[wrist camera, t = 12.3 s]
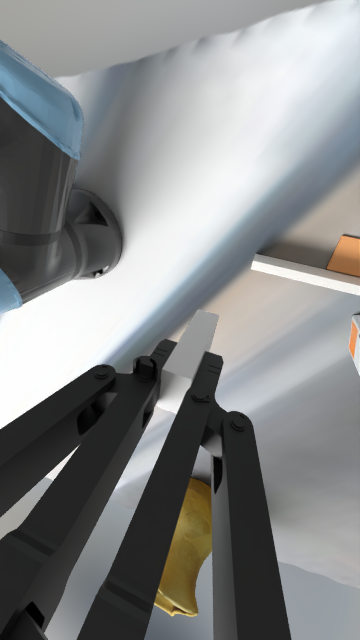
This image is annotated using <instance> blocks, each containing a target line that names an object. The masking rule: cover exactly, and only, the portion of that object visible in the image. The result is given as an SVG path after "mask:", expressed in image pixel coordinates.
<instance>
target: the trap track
mask: <svg viewBox="0 0 360 640" xmlns="http://www.w3.org/2000/svg"><path fill="white" fill-rule="evenodd" d="M251 269H253V270H257V271H261V272H265V273H269V274H273V275H277V276H282V277H286V278H290V279H294V280H298V281H302V282H306V283H310V284H314V285H318V286H323V287H327V288H331V289H335V290H339V291H343V292H347V293H351V294H355V295H360V277H355V276H351V275H347V274H342V273H338V272H333V271H329V270H325V269H320V268H316V267H312V266H307V265H303V264H299V263H294V262H290V261H286V260H281V259H277V258H273V257H268V256H264V255H260V254H255V257H254V260H253V263H252V267H251Z"/></svg>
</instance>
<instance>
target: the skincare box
mask: <svg viewBox="0 0 360 640" xmlns="http://www.w3.org/2000/svg"><path fill="white" fill-rule="evenodd" d="M348 348H349V350H350V353H351V355H352V358H353V360H354V363H355V365H356V368H357V370H358V373H359V375H360V315H353V316H352V324H351V333H350V339H349V345H348Z"/></svg>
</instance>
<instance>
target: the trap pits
mask: <svg viewBox="0 0 360 640" xmlns="http://www.w3.org/2000/svg"><path fill="white" fill-rule="evenodd" d="M326 269H329V270H333V271H338V272H342V273H346V274H351V275H355V276H359V277H360V239H357V238H352V237H347V236H341V238H340V240H339V243H338V245H337V247H336V249H335V251H334V253H333V255H332V257H331V259H330V261H329V264H328V266H327V268H326Z"/></svg>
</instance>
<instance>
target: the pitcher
mask: <svg viewBox="0 0 360 640" xmlns="http://www.w3.org/2000/svg"><path fill="white" fill-rule="evenodd" d="M211 552H212V499H211V487H210V486H208V485H207V484H206V483H204V482H202V481H199V480H196V479H194V478H190V481H189V484H188V488H187V491H186V495H185V498H184V502H183V505H182V509H181V512H180V515H179V519H178V522H177V526H176V529H175V533H174V536H173V540H172V543H171V546H170V550H169V553H168V557H167V560H166V564H165V567H164V571H163V574H162V578H161V581H160V584H159V588H158V591H157V595H156V598H155V602H154V604H155V605H156V606H158V607H160V608H161V609H163V610H164V611H166V612H167V613H169V614H170V615H171V616H174V615H175V614H176V613H177V614H178V613H179V614H183V615H187V616H191V617H193V616H197V615H198V608H197V603H196V598H195V587H196V580H197V576H198V573H199V570H200V567H201V566H202V564H203V562H204V560H205V559H206V558H207V557H208V555H209V554H210V553H211Z"/></svg>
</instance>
